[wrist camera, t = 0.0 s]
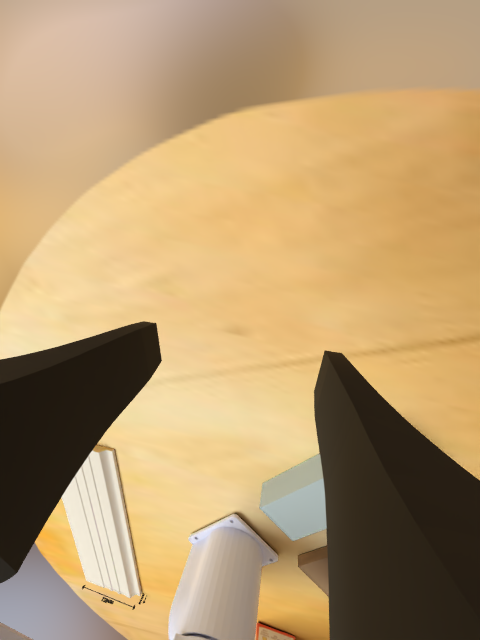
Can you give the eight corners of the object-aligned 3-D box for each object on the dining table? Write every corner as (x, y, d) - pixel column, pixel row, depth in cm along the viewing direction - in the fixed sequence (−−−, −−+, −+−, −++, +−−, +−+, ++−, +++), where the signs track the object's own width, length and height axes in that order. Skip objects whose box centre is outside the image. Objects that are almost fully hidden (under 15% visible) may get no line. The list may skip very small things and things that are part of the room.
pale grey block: (292, 509, 25) (292, 541, 23) (263, 480, 25) (259, 508, 22) (407, 459, 21) (426, 491, 18) (372, 422, 20) (385, 448, 17)
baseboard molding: (126, 447, 29) (55, 431, 32) (109, 466, 26) (33, 447, 29) (151, 591, 38) (93, 569, 40) (140, 617, 35) (79, 591, 38)
